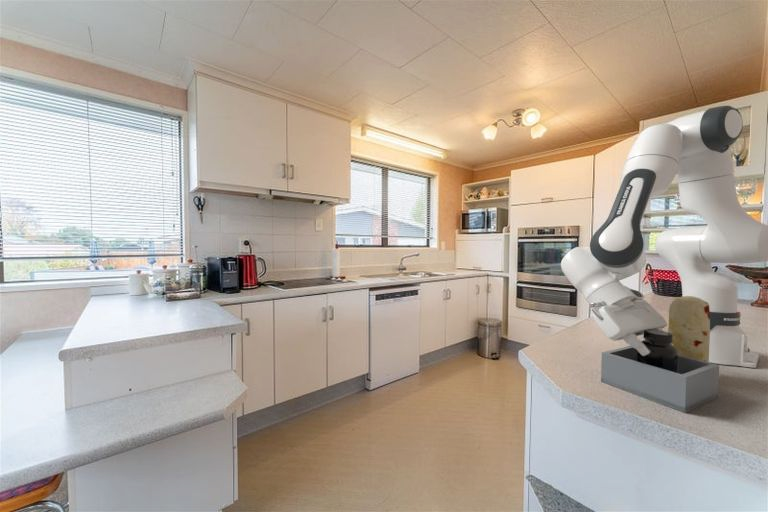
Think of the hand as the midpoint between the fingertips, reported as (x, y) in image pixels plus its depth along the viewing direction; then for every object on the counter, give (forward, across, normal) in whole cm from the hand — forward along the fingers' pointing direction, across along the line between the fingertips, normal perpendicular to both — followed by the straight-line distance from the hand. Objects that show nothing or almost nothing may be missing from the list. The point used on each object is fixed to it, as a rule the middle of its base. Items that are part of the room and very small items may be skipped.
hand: (659, 351), depth 67 cm
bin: (+6, 0, +6) cm, 9 cm away
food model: (+6, +16, +7) cm, 18 cm away
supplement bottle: (+5, 0, +6) cm, 8 cm away
